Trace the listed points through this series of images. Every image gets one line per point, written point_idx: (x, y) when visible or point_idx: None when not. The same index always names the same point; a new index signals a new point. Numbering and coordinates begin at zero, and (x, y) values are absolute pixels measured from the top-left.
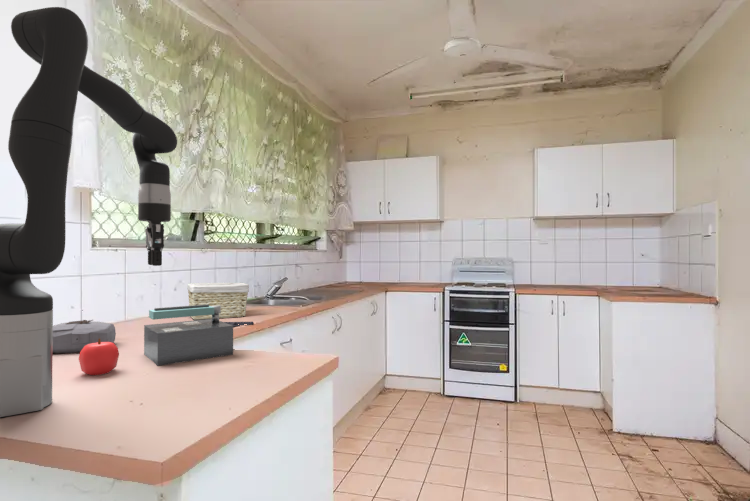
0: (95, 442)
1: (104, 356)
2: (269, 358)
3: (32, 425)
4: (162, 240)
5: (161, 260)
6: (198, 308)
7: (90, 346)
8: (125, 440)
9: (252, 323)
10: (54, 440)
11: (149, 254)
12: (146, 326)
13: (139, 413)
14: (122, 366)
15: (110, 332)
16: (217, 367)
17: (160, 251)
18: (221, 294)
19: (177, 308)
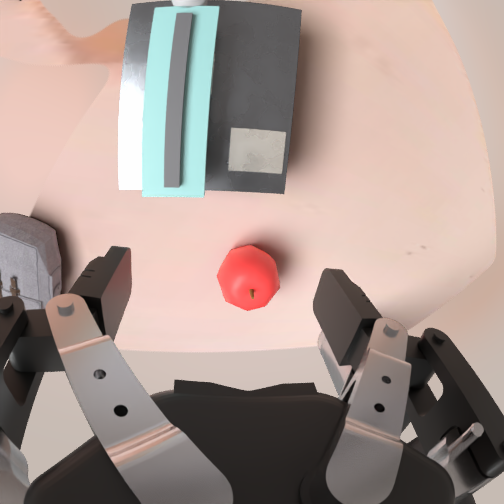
0: (456, 287)
1: (278, 277)
2: (359, 11)
3: None
4: (462, 366)
5: (349, 282)
6: (213, 53)
7: (264, 304)
8: (467, 272)
9: None
10: (434, 308)
11: (113, 328)
12: None
13: (440, 254)
14: (225, 228)
15: (34, 235)
16: (357, 103)
17: (374, 323)
18: None
19: (182, 115)
